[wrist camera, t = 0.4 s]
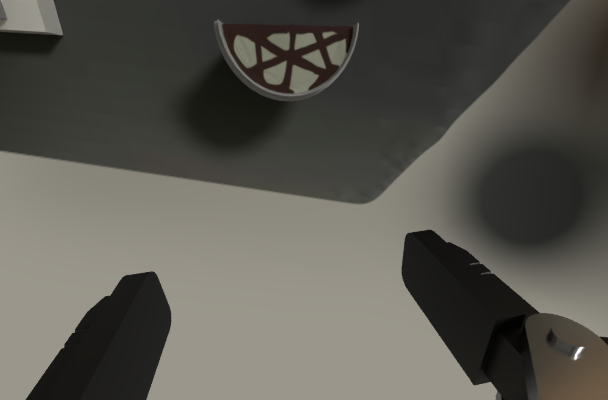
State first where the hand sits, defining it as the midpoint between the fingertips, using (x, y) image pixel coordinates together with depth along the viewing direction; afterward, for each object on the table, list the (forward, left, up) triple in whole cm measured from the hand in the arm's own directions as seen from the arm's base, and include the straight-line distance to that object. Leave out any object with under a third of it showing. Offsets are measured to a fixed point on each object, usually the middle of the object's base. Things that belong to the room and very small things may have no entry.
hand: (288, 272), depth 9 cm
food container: (-7, +2, -29) cm, 29 cm away
